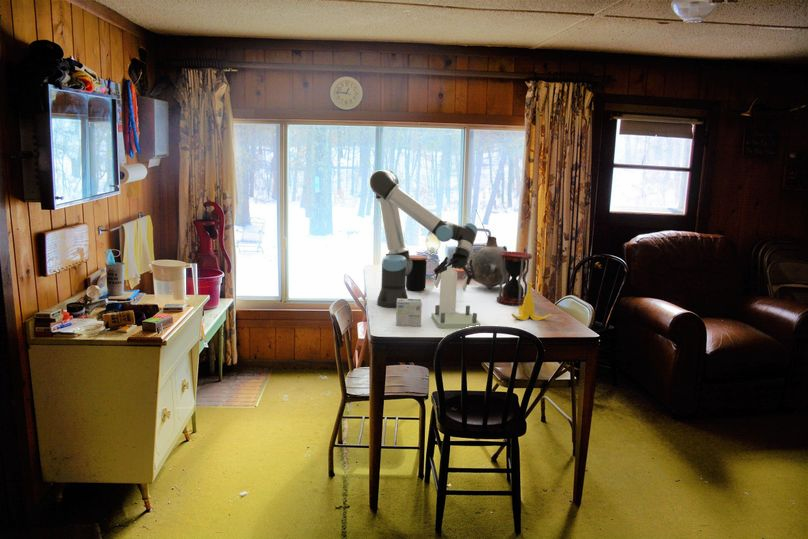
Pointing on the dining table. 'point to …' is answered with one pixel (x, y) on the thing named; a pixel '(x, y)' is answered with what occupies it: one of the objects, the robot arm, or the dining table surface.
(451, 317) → the peg board
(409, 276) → the coffee jar
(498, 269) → the jug
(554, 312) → the dining table surface
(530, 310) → the banana peel
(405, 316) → the light bulb box
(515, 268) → the hourglass
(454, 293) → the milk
